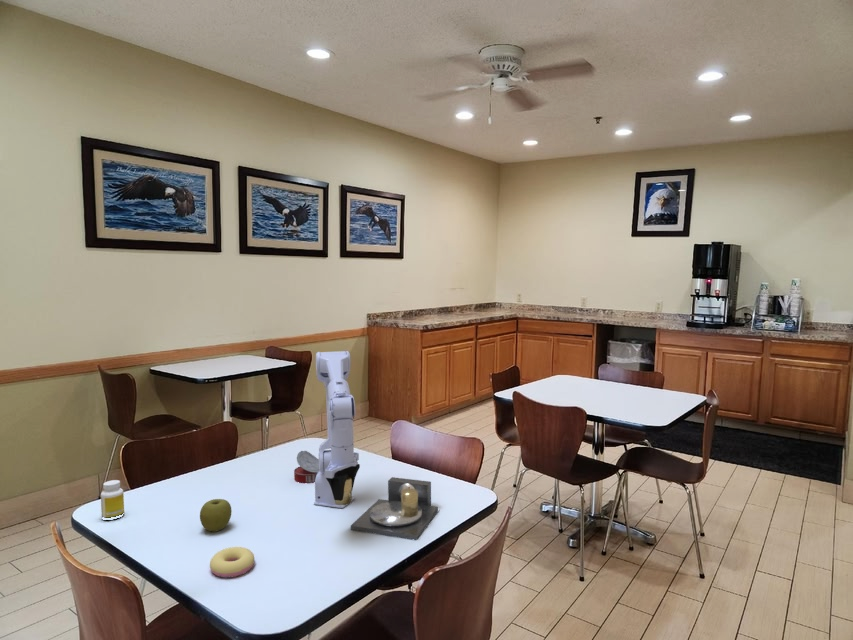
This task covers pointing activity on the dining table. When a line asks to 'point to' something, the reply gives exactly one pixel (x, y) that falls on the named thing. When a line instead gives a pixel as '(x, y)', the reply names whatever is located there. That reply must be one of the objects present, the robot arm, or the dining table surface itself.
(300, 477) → the canned food
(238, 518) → the dining table surface
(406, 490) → the cylinder
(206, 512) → the apple
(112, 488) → the supplement bottle
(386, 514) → the scale pan
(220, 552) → the donut
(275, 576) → the dining table surface
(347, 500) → the cylinder
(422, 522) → the scale
